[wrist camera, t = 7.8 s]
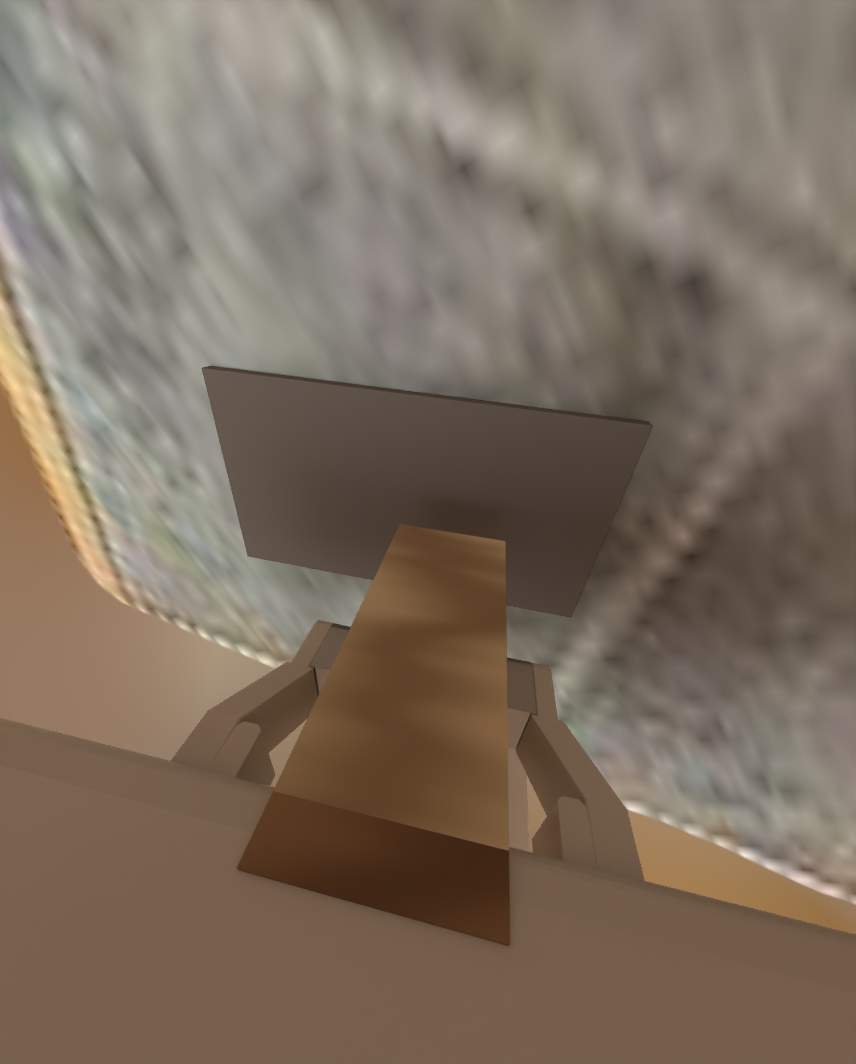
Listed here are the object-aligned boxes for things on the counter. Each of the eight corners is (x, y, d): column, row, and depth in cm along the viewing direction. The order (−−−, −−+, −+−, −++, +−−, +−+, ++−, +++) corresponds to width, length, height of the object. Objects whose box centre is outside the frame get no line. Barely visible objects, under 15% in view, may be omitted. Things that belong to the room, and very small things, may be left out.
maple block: (505, 541, 13) (509, 944, 5) (486, 617, 15) (468, 987, 7) (399, 523, 14) (236, 867, 5) (396, 600, 16) (277, 930, 7)
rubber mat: (647, 421, 15) (652, 425, 14) (569, 609, 21) (571, 617, 20) (210, 365, 17) (201, 367, 17) (253, 550, 23) (247, 556, 23)
